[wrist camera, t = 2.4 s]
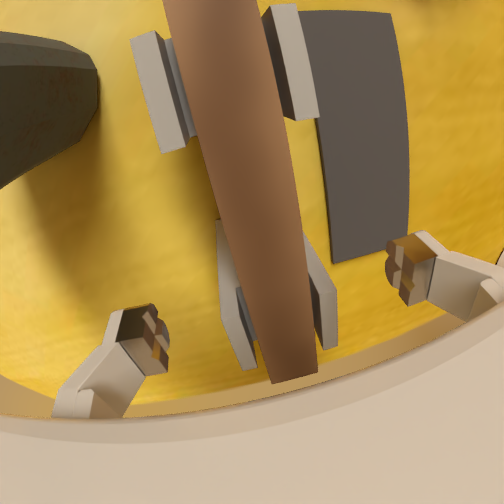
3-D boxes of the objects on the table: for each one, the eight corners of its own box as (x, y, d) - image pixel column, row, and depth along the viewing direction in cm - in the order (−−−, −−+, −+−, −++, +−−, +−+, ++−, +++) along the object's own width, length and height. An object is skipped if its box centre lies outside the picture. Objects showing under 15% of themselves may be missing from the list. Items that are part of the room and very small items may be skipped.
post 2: (285, 202, 26) (336, 289, 15) (293, 249, 29) (337, 346, 18) (215, 220, 26) (220, 319, 15) (229, 265, 29) (242, 370, 18)
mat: (387, 14, 17) (390, 13, 17) (403, 240, 30) (406, 242, 29) (293, 13, 17) (295, 11, 17) (331, 260, 30) (333, 263, 29)
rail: (240, -6, 9) (248, -29, 7) (306, 340, 21) (318, 372, 18) (170, 9, 9) (160, -10, 7) (264, 351, 21) (271, 384, 18)
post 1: (252, 45, 19) (295, 3, 8) (266, 103, 21) (319, 117, 11) (171, 64, 19) (129, 39, 8) (186, 122, 21) (161, 153, 11)
